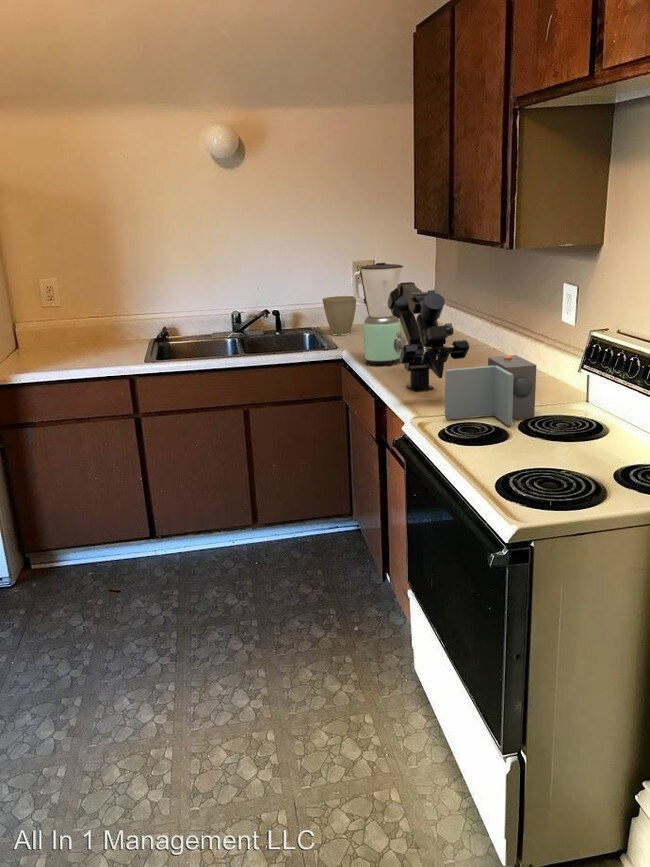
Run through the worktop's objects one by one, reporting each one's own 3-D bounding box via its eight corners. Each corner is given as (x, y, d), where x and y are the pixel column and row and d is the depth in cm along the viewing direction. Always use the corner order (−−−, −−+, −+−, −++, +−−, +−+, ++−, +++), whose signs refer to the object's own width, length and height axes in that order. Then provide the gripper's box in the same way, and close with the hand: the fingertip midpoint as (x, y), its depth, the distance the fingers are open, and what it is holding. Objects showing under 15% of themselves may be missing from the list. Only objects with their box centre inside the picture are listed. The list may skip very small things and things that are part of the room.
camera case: (486, 407, 197) (487, 354, 193) (514, 404, 198) (516, 352, 194) (506, 421, 184) (508, 365, 179) (536, 419, 185) (538, 363, 180)
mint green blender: (411, 360, 259) (410, 261, 248) (397, 368, 248) (395, 265, 237) (363, 357, 267) (360, 261, 256) (348, 365, 256) (344, 265, 245)
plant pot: (364, 333, 314) (363, 297, 309) (338, 338, 306) (336, 301, 301) (343, 330, 325) (342, 294, 320) (317, 334, 317) (315, 298, 312)
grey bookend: (444, 417, 189) (444, 369, 185) (494, 412, 191) (496, 364, 187) (458, 430, 178) (458, 379, 174) (512, 424, 180) (513, 374, 176)
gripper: (402, 316, 196) (413, 364, 189) (467, 311, 198) (480, 358, 191) (395, 339, 206) (405, 386, 199) (458, 334, 208) (470, 380, 201)
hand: (440, 377), depth 197 cm, fingers closed
